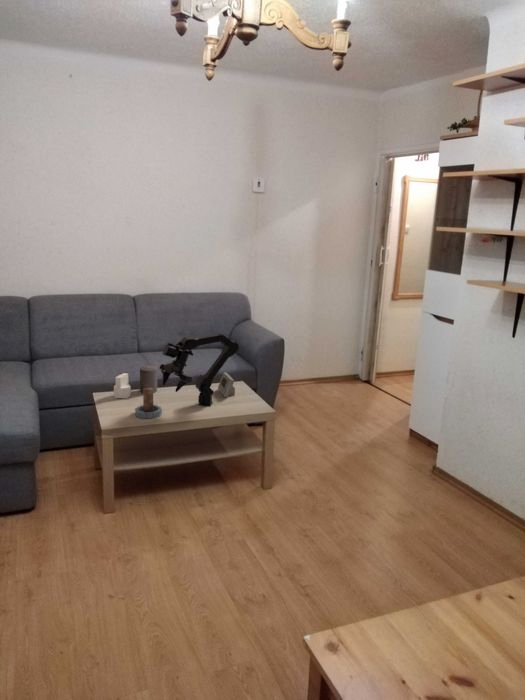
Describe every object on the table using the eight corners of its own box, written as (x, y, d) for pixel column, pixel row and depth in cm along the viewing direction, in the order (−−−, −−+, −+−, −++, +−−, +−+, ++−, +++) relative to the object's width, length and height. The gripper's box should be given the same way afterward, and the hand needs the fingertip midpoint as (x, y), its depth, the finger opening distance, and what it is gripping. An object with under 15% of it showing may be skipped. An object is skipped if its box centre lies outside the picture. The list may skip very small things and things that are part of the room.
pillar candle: (136, 391, 315) (136, 366, 312) (147, 387, 324) (147, 362, 320) (150, 394, 311) (149, 369, 307) (160, 390, 319) (160, 365, 316)
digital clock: (217, 389, 325) (217, 371, 322) (233, 388, 326) (233, 371, 323) (219, 398, 309) (219, 379, 306) (235, 397, 310) (235, 379, 308)
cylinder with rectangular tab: (119, 392, 312) (118, 372, 309) (133, 394, 310) (133, 374, 307) (111, 397, 304) (110, 376, 301) (125, 399, 301) (125, 378, 299)
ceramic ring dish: (165, 411, 286) (165, 406, 285) (155, 419, 273) (155, 414, 273) (141, 408, 288) (141, 403, 288) (131, 417, 276) (130, 411, 275)
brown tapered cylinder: (153, 410, 284) (153, 387, 281) (153, 414, 279) (153, 390, 276) (143, 411, 283) (143, 387, 280) (143, 414, 278) (143, 390, 275)
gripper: (158, 352, 283) (147, 380, 284) (184, 365, 274) (173, 394, 275) (171, 355, 293) (160, 382, 294) (197, 367, 284) (186, 395, 284)
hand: (169, 388), depth 286 cm, fingers open, 9 cm apart
